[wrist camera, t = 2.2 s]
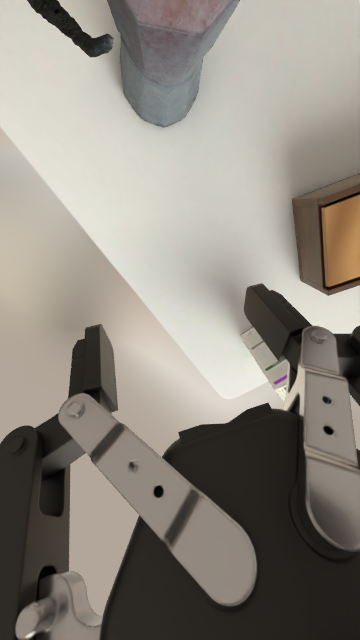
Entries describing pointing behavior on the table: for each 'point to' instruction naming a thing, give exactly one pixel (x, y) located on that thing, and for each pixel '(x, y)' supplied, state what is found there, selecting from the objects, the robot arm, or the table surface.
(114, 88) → the table surface
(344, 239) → the lid
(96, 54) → the moka pot
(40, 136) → the table surface
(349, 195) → the box
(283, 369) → the syrup box
